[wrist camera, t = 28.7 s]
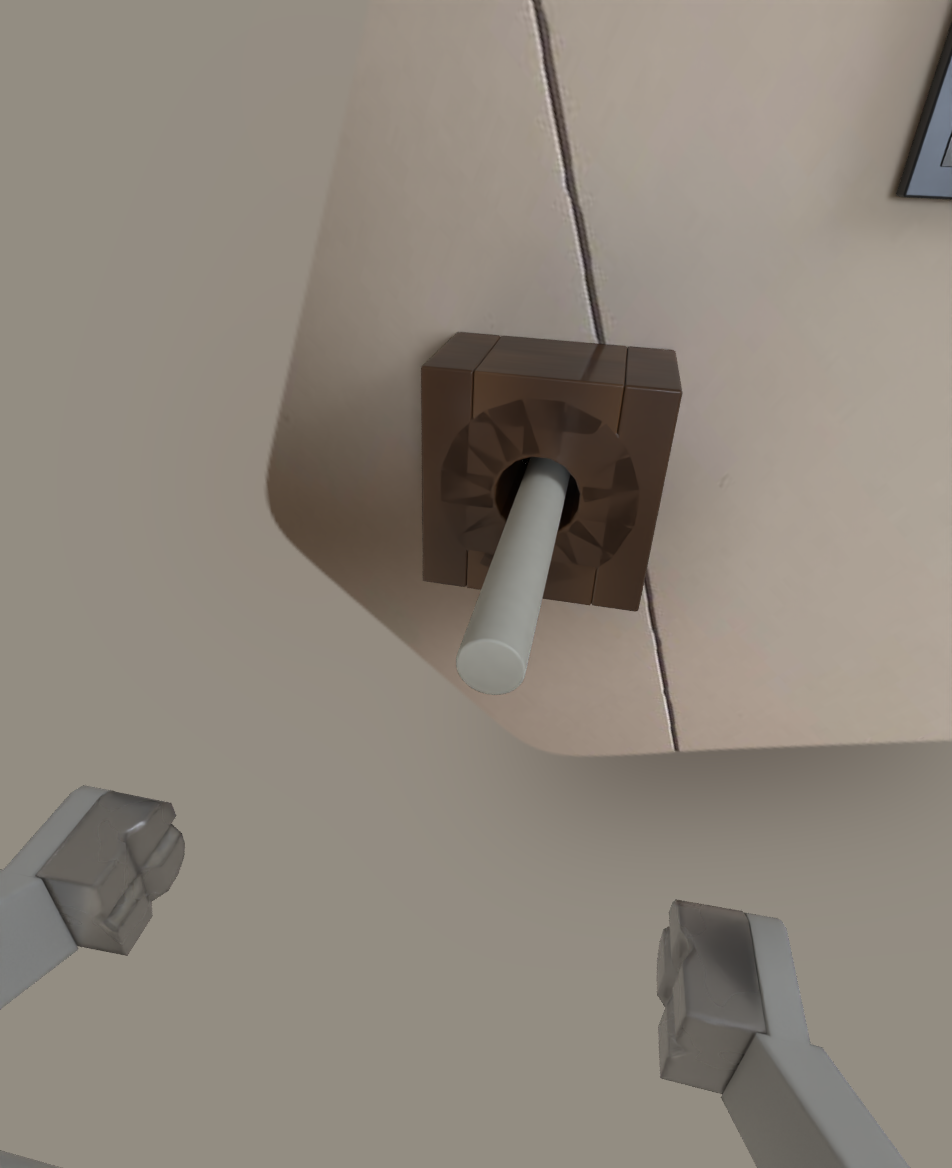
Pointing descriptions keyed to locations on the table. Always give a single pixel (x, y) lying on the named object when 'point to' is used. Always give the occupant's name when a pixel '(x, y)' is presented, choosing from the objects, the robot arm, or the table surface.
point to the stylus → (514, 584)
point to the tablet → (933, 139)
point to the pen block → (547, 430)
